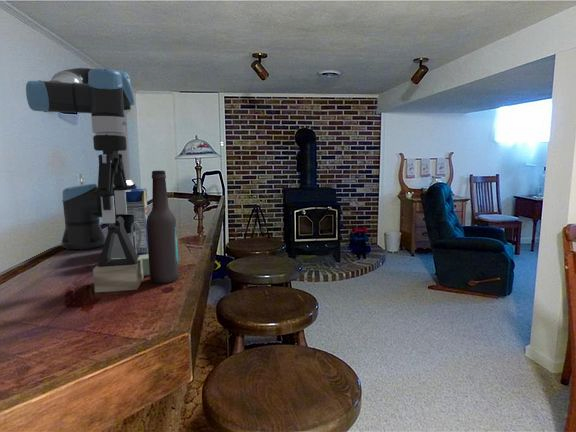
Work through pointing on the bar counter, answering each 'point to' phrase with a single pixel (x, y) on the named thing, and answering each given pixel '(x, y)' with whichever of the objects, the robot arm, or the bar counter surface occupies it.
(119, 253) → the grey black handled cylinder
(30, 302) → the bar counter surface
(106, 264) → the phone stand
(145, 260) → the sage cube
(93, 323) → the bar counter surface
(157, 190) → the beer bottle
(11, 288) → the bar counter surface
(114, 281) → the maple block
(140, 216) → the beverage box
